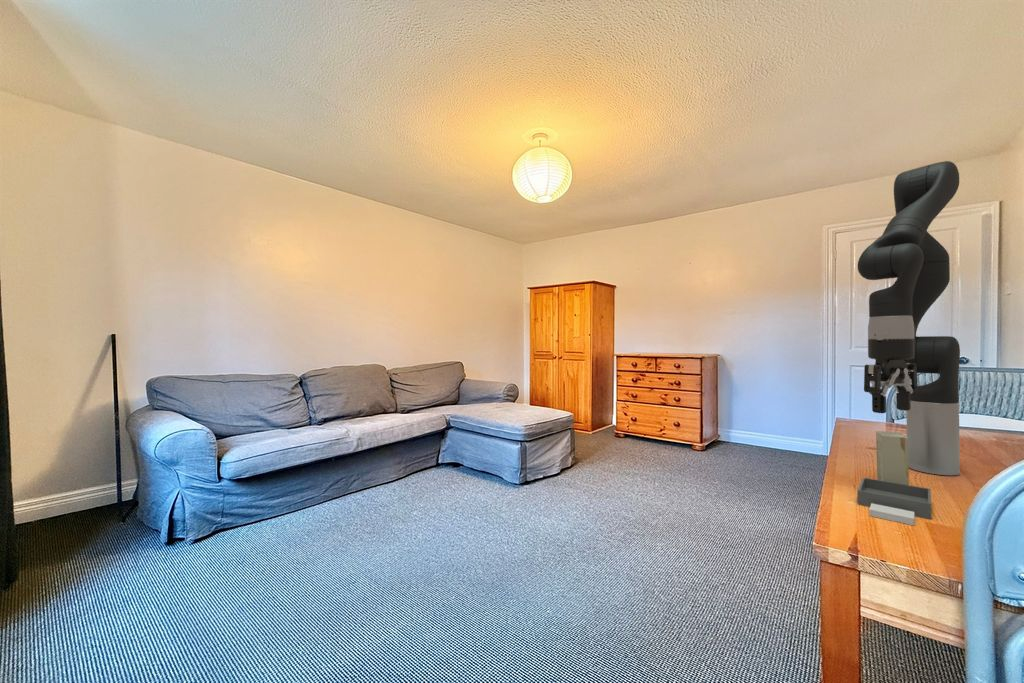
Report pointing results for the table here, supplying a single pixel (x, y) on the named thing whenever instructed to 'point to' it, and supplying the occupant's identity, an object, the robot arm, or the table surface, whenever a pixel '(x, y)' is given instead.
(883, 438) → the skincare box
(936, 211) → the robot arm
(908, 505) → the grey open tray
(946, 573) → the table surface
